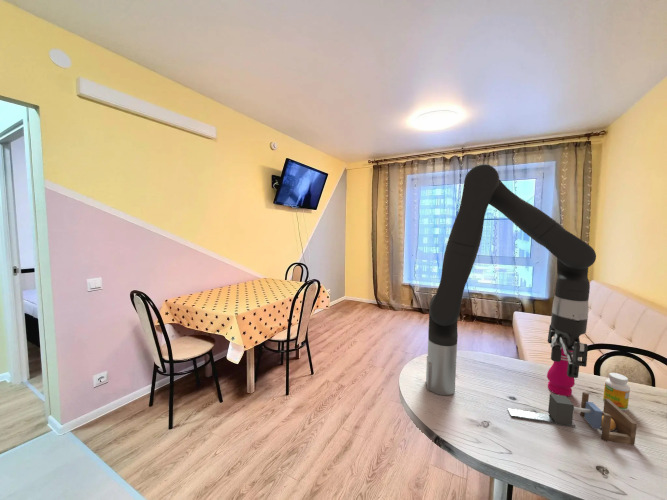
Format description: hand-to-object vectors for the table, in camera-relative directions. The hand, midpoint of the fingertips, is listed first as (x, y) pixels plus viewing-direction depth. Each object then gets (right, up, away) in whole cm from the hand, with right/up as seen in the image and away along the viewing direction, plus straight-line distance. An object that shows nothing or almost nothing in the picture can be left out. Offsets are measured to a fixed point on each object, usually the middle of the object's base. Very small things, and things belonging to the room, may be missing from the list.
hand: (563, 368), depth 77 cm
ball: (+11, -15, -1) cm, 18 cm away
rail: (-4, -16, +3) cm, 17 cm away
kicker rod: (+3, -15, +1) cm, 16 cm away
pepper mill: (+12, -15, +15) cm, 24 cm away
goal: (+11, -16, -1) cm, 20 cm away
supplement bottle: (+23, -15, +8) cm, 29 cm away
